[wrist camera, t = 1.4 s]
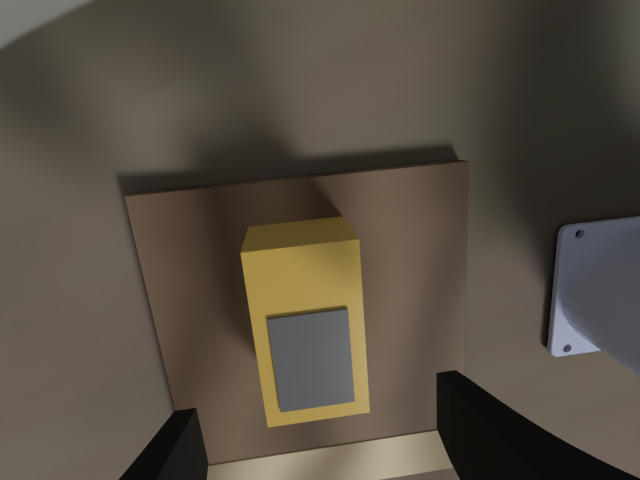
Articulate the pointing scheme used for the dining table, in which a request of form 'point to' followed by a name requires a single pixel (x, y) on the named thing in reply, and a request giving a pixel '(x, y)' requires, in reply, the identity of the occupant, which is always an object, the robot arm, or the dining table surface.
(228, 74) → the dining table surface
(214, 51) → the dining table surface
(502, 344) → the dining table surface
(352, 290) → the block
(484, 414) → the robot arm
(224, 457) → the board
